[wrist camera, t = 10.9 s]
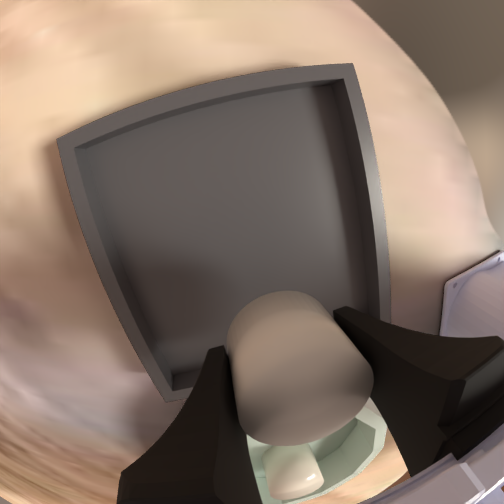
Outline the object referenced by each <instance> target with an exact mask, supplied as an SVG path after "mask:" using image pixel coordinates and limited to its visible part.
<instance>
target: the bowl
mask: <svg viewBox="0 0 504 504" xmlns="http://www.w3.org/2000/svg"><path fill="white" fill-rule="evenodd" d="M386 429H387V425H386V423H385V421H384V419H383V417H382V416H381V414H380V412H379V410H378V408H377V407H376V405H375V404H374V402H373V401H372V400H371V398H370V397H369V399H368V401H367V402H366V404H365V405H364V407H363V408H362V410H361V411H360V412H359V413H358V414H357V415H356V416H355V417H354V418H353V419H352V420H351V421H350V422H349V423H347V424H346V425H345V426H343V427H342V428H341V429H339V430H337V431H336V432H334V433H332V434H330V435H328V436H326V437H324V438H322V439H319V440H316V441H313V442H310V443H308V444H309V445H310V447H311V449H312V452H313V454H314V457H315V459H316V462H317V464H318V467H319V469H320V471H321V474H322V476H323V479H324V483H323V485H322V486H321V487H320V488H318V489H317V490H315V491H314V492H312V493H310V494H307V495H305V496H302V497H299V498H294V499H288V500H279V499H274V498H272V497H271V496H270V492H269V489H268V485H267V481H266V477H265V473H264V469H263V465H262V461H261V457H262V455H263V453H264V452H265V451H266V450H268V449H269V448H271V447H272V446H274V445H268V444H264V443H261V442H258V441H257V440H255V439H253V438H251V437H250V436H249V435H247V443H248V449H249V455H250V459H251V463H252V467H253V471H254V474H255V478H256V482H257V485H258V489H259V493H260V496H261V499H262V503H263V504H297V503H300V502H303V501H307V500H310V499H313V498H316V497H319V496H322V495H323V494H326V493H328V492H330V491H332V490H334V489H335V488H337V487H339V486H340V485H342V484H344V483H346V482H347V481H349V480H350V479H352V478H354V477H355V476H357V475H358V474H359V473H361V472H362V471H363V470H364V469H365V468H366V467H367V465H368V464H369V463H370V462H371V461H372V460H373V459H374V458H375V457H376V455H377V454H378V453H379V452H380V451H381V450H382V448H383V447H384V442H385V436H386Z"/></svg>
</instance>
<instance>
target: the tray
mask: <svg viewBox="0 0 504 504" xmlns="http://www.w3.org/2000/svg"><path fill="white" fill-rule="evenodd" d="M57 144H58V148H59V153H60V157H61V161H62V165H63V169H64V173H65V177H66V181H67V184H68V188H69V191H70V195H71V198H72V201H73V205H74V208H75V211H76V214H77V217H78V220H79V223H80V226H81V229H82V232H83V235H84V238H85V240H86V243H87V246H88V248H89V251H90V254H91V256H92V259H93V261H94V264H95V266H96V269H97V271H98V274H99V276H100V279H101V281H102V283H103V286H104V288H105V290H106V292H107V295H108V297H109V299H110V301H111V303H112V306H113V308H114V310H115V312H116V314H117V316H118V318H119V320H120V322H121V324H122V326H123V328H124V330H125V332H126V334H127V336H128V338H129V340H130V342H131V344H132V346H133V348H134V349H135V351H136V353H137V355H138V357H139V358H140V360H141V362H142V364H143V366H144V367H145V369H146V371H147V373H148V374H149V376H150V378H151V379H152V381H153V383H154V384H155V386H156V388H157V389H158V391H159V392H160V394H161V396H162V397H163V399H164V400H165V402H171V401H176V400H181V399H186V398H188V397H189V395H190V393H191V391H192V389H193V387H194V385H195V382H196V380H197V378H198V375H199V373H200V371H201V368H202V365H203V363H204V360H205V357H206V354H207V351H208V350H209V349H210V348H214V347H218V346H221V345H224V347H225V350H226V352H227V355H228V351H227V334H228V330H229V328H230V325H231V323H232V321H233V319H234V318H235V317H236V315H237V314H238V313H239V312H240V311H241V310H242V309H243V308H244V307H245V306H246V305H247V304H249V303H250V302H252V301H253V300H255V299H257V298H259V297H261V296H263V295H266V294H269V293H273V292H277V291H298V292H302V293H305V294H308V295H310V296H312V297H313V298H315V299H316V300H318V301H319V302H320V303H321V304H322V305H323V306H324V308H325V309H326V310H327V311H328V313H329V314H330V315H331V316H332V318H333V319H334V317H333V310H335V309H338V308H341V307H343V306H348V307H351V308H353V309H356V310H358V311H360V312H363V313H365V314H367V315H370V316H372V317H374V318H377V319H379V320H382V321H384V322H387V323H390V324H391V289H390V267H389V252H388V240H387V230H386V220H385V212H384V204H383V196H382V189H381V183H380V177H379V171H378V165H377V159H376V154H375V149H374V144H373V139H372V134H371V130H370V125H369V121H368V117H367V112H366V108H365V104H364V100H363V97H362V93H361V89H360V86H359V82H358V79H357V75H356V72H355V69H354V65H353V63H346V64H327V65H314V66H303V67H294V68H286V69H278V70H271V71H265V72H259V73H253V74H247V75H242V76H237V77H232V78H227V79H223V80H218V81H214V82H210V83H206V84H202V85H198V86H194V87H190V88H187V89H183V90H179V91H176V92H173V93H169V94H166V95H163V96H160V97H157V98H154V99H151V100H148V101H145V102H142V103H139V104H136V105H133V106H131V107H128V108H125V109H123V110H120V111H118V112H115V113H113V114H110V115H108V116H105V117H103V118H101V119H98V120H96V121H94V122H91V123H89V124H87V125H85V126H82V127H80V128H78V129H76V130H74V131H72V132H70V133H68V134H66V135H64V136H62V137H60V138H58V139H57Z"/></svg>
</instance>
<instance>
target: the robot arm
mask: <svg viewBox="0 0 504 504" xmlns="http://www.w3.org/2000/svg"><path fill="white" fill-rule="evenodd" d="M333 317H334V320H335V321H336V323H337V324H338V325H339V326H340V328H341V329H342V330H343V331H344V333H345V334H346V335H347V336H348V338H349V339H350V340H351V341H352V343H353V344H354V345H355V347H356V348H357V349H358V350H359V352H360V353H361V354H362V355H363V357H364V358H365V359H366V360H367V362H368V363H369V364H370V366H371V368H372V371H373V376H374V383H373V388H372V392H371V394H370V398H371V400H372V401H373V402H374V404H375V405H376V407H377V408H378V410H379V412H380V414H381V416H382V417H383V419H384V421H385V423H386V425H387V427H388V428H389V430H390V432H391V434H392V436H393V438H394V440H395V442H396V444H397V446H398V449H399V451H400V453H401V455H402V457H403V459H404V462H405V464H406V467H407V469H408V471H409V474H410V476H411V478H410V479H408V480H406V481H404V482H402V483H400V484H398V485H396V486H395V487H393V488H391V489H389V490H387V491H384V492H383V493H380V494H378V495H376V496H374V497H372V498H369V499H367V500H365V501H362V502H360V503H358V504H504V493H503V491H502V490H501V487H502V486H503V485H504V251H500V252H499V253H497V254H495V255H494V256H492V257H490V258H489V259H487V260H485V261H483V262H482V263H480V264H478V265H476V266H475V267H473V268H471V269H469V270H467V271H465V272H464V273H462V274H460V275H458V276H456V277H454V278H452V279H450V280H449V281H447V282H446V284H445V287H444V300H443V311H442V320H441V329H440V336H438V335H431V334H426V333H421V332H417V331H412V330H408V329H405V328H402V327H399V326H396V325H393V324H390V323H387V322H384V321H382V320H379V319H377V318H374V317H372V316H370V315H367V314H365V313H363V312H360V311H358V310H356V309H353V308H351V307H348V306H343V307H341V308H338V309H335V310H333ZM117 504H263V503H262V499H261V496H260V493H259V489H258V485H257V482H256V478H255V474H254V471H253V467H252V463H251V459H250V455H249V449H248V443H247V434H246V433H245V432H244V430H243V429H242V427H241V425H240V423H239V419H238V413H237V407H236V401H235V395H234V389H233V383H232V377H231V370H230V364H229V357H228V355H227V352H226V350H225V347H224V345H221V346H218V347H214V348H210V349H209V350H208V351H207V354H206V357H205V360H204V363H203V365H202V368H201V371H200V373H199V375H198V378H197V380H196V382H195V385H194V387H193V389H192V391H191V393H190V395H189V397H188V398H187V400H186V402H185V404H184V406H183V407H182V409H181V411H180V412H179V414H178V415H177V417H176V418H175V420H174V421H173V422H172V424H171V425H170V426H169V428H168V429H167V430H166V431H165V433H164V434H163V435H162V436H161V437H160V438H159V440H158V441H157V442H156V443H155V444H154V445H153V446H152V447H151V448H150V449H149V450H148V451H147V452H146V453H144V454H143V455H142V456H141V457H140V458H139V459H137V460H136V461H135V462H134V463H132V464H131V465H130V466H129V467H127V468H126V469H125V470H123V471H122V472H121V476H120V480H119V487H118V495H117Z"/></svg>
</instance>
